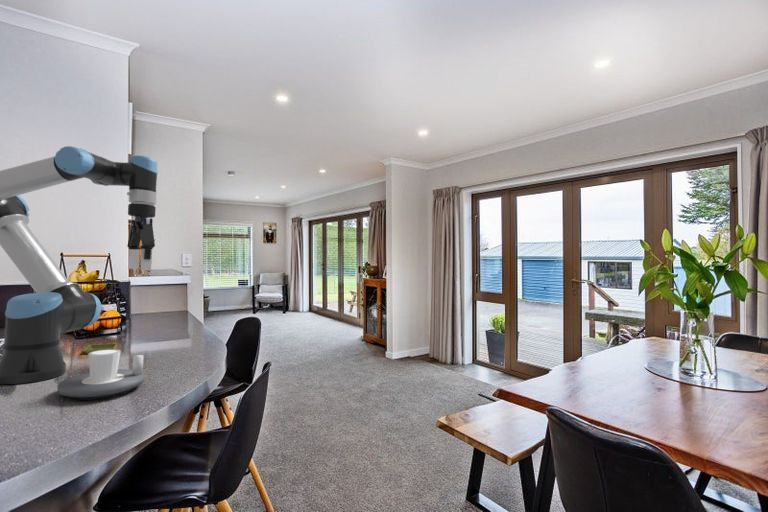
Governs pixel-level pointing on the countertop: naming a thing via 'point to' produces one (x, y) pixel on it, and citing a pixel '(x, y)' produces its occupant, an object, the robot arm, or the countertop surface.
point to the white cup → (103, 364)
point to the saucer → (99, 347)
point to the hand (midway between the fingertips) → (139, 269)
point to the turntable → (87, 388)
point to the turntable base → (101, 396)
